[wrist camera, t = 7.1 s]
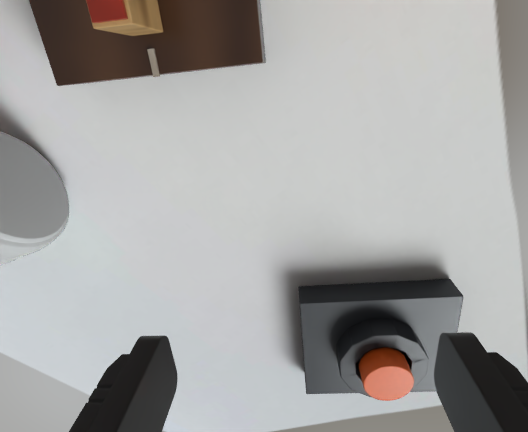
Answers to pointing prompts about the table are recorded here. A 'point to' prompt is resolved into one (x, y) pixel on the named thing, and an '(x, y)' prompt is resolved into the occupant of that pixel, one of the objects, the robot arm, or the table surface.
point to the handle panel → (150, 40)
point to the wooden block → (126, 16)
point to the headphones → (28, 200)
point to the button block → (374, 329)
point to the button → (385, 374)
